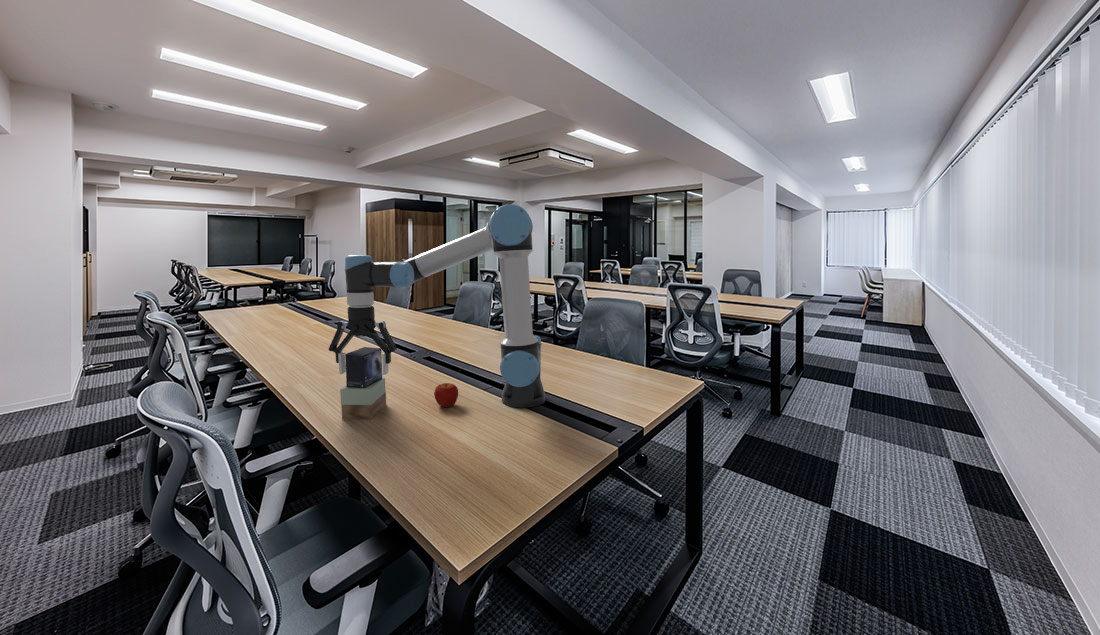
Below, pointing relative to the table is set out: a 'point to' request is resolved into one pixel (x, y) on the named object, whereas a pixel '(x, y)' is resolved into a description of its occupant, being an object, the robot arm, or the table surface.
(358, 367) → the small box
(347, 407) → the tower base
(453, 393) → the apple
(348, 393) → the tower top
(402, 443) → the table surface
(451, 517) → the table surface
